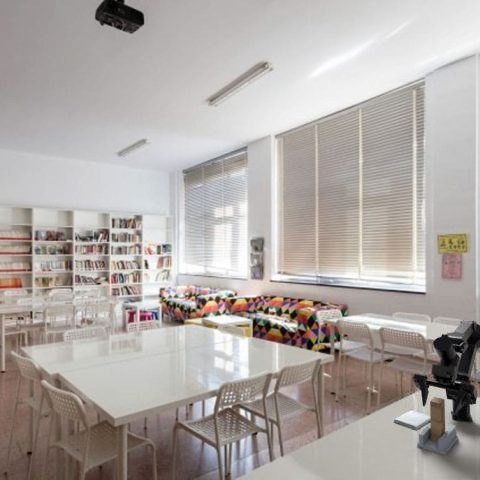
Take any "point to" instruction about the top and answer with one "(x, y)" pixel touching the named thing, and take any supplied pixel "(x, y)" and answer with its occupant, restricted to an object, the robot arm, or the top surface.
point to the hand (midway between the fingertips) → (438, 409)
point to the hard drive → (413, 419)
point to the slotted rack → (442, 444)
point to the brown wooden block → (437, 418)
